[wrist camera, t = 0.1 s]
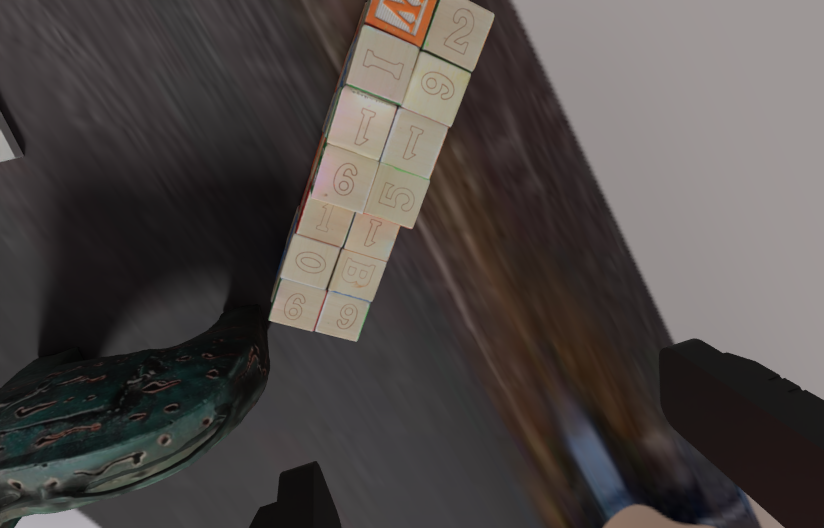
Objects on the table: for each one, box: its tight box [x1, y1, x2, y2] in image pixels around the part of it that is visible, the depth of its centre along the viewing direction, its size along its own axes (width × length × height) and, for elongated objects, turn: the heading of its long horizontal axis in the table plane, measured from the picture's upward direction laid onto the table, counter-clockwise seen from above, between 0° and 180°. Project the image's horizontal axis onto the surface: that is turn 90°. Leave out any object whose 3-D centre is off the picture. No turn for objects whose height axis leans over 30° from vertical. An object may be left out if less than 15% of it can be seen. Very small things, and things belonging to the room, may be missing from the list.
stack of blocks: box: [269, 0, 495, 341], centre depth 31 cm, size 21×6×12 cm, turn 158°
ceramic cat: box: [0, 305, 270, 528], centre depth 28 cm, size 20×6×20 cm, turn 101°
